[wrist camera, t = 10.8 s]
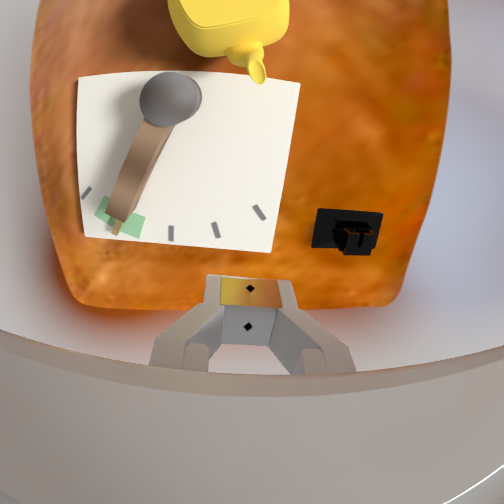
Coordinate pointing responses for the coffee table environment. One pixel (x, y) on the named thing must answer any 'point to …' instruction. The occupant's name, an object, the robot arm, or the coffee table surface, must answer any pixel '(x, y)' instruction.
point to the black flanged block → (347, 230)
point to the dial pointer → (152, 138)
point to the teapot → (231, 29)
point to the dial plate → (190, 160)
